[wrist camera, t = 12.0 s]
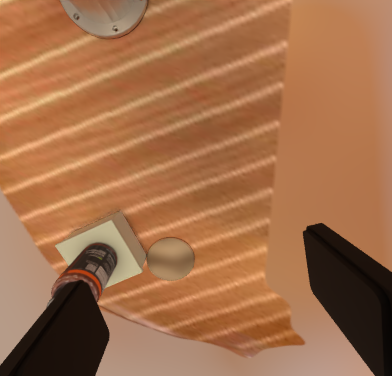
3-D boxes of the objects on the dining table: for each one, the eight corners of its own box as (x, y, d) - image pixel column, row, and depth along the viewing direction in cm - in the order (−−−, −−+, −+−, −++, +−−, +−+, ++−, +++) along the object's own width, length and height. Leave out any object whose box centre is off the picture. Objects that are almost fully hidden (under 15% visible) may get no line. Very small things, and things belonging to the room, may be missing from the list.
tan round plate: (141, 243, 42) (140, 245, 42) (187, 232, 42) (187, 233, 41) (155, 283, 44) (154, 285, 44) (199, 273, 44) (199, 274, 43)
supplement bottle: (84, 273, 38) (40, 332, 27) (80, 241, 36) (31, 289, 25) (120, 273, 38) (90, 332, 27) (117, 241, 36) (85, 289, 25)
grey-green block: (71, 231, 41) (54, 245, 36) (121, 208, 40) (111, 219, 35) (100, 276, 44) (89, 294, 39) (148, 255, 43) (142, 272, 38)
